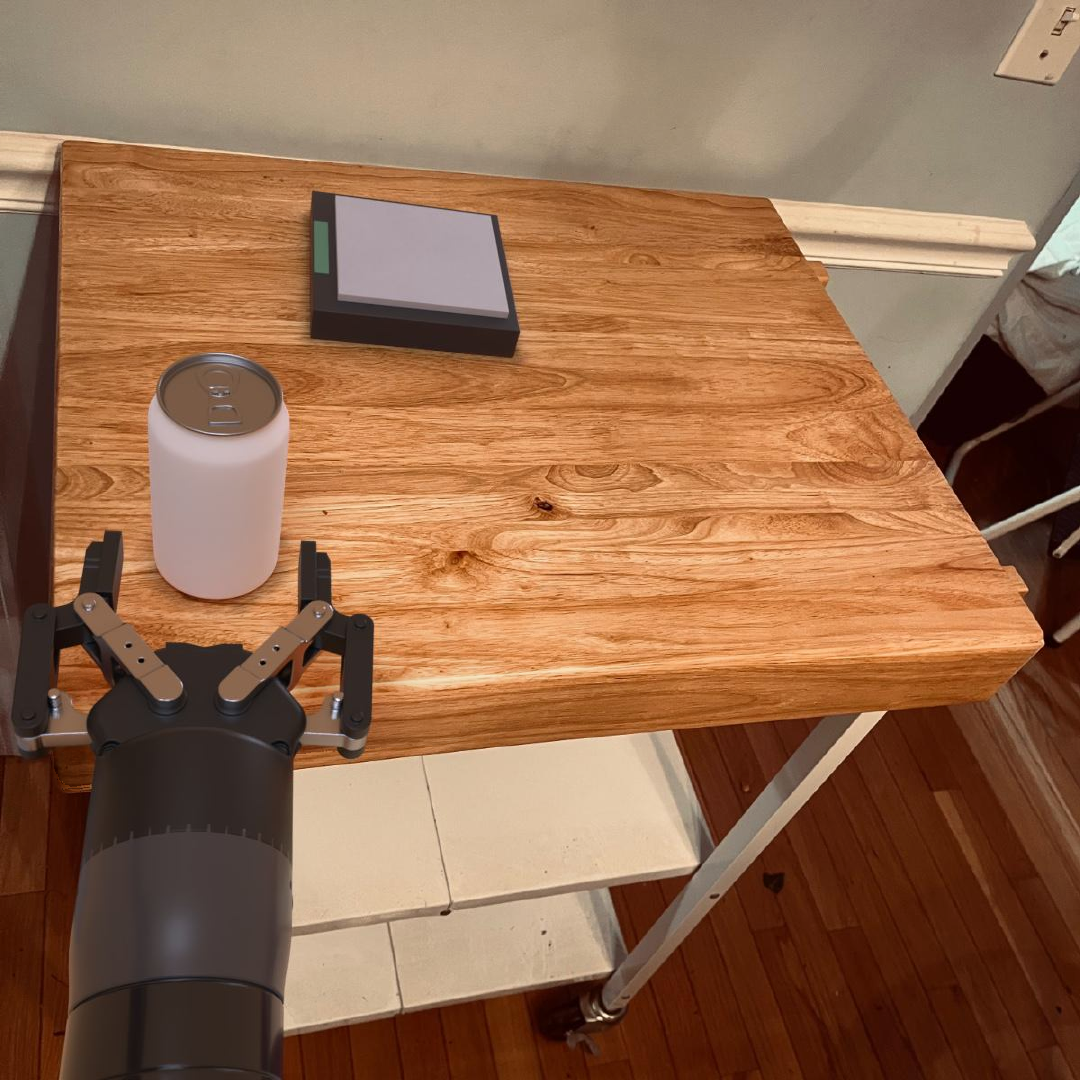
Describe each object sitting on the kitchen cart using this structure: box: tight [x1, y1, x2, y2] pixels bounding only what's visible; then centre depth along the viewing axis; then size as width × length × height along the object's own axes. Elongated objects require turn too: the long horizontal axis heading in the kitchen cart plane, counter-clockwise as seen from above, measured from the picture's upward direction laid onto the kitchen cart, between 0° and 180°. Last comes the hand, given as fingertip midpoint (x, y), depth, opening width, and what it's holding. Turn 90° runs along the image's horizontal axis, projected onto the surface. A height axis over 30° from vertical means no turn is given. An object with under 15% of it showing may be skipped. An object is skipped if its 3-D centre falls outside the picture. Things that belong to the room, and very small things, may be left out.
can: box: [147, 351, 291, 601], centre depth 53 cm, size 6×6×12 cm
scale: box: [309, 190, 521, 358], centre depth 77 cm, size 14×14×3 cm
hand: (212, 546), depth 50 cm, fingers open, 8 cm apart
